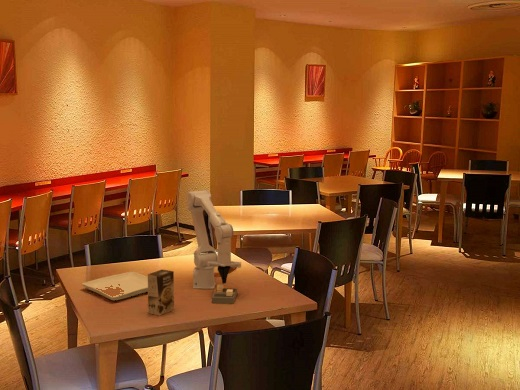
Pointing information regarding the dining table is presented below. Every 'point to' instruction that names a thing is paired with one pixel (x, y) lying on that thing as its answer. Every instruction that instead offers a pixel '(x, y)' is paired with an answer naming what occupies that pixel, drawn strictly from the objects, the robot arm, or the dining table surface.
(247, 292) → the dining table surface
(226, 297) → the switch board
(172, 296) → the coffee box
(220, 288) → the tab
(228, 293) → the front tab
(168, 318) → the dining table surface
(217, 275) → the slice of bread
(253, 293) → the dining table surface
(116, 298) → the square plate
